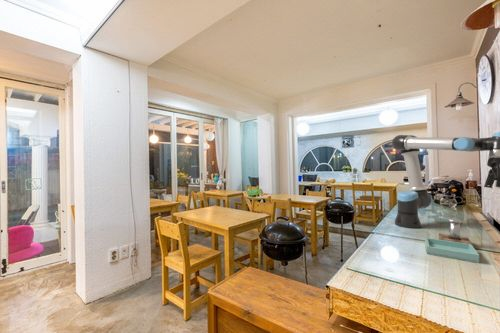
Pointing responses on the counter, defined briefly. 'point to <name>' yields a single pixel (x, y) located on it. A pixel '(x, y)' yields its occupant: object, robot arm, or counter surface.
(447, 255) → the tray
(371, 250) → the counter surface
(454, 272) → the counter surface
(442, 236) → the holder
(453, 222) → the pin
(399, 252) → the counter surface
